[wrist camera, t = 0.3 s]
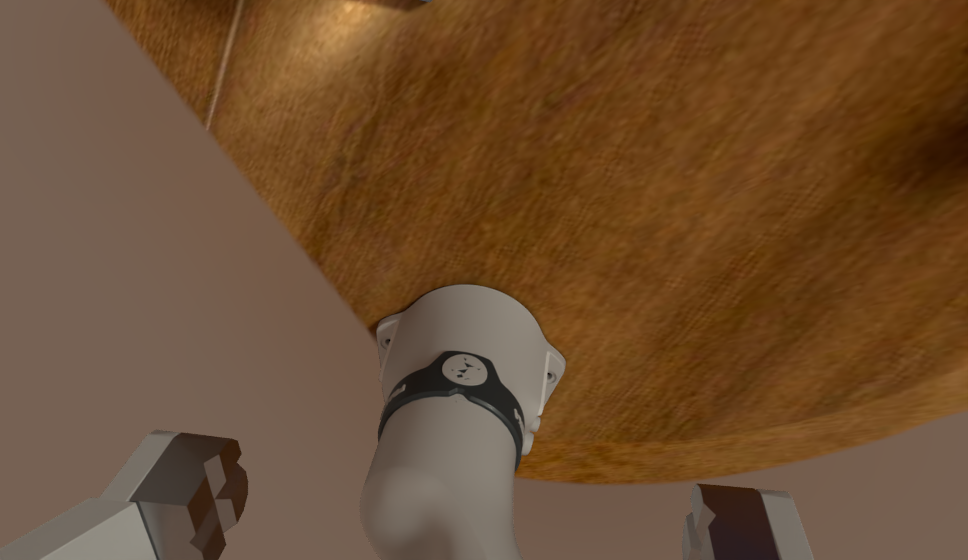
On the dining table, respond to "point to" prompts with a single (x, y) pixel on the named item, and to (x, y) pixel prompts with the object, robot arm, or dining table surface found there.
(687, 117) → the dining table surface
